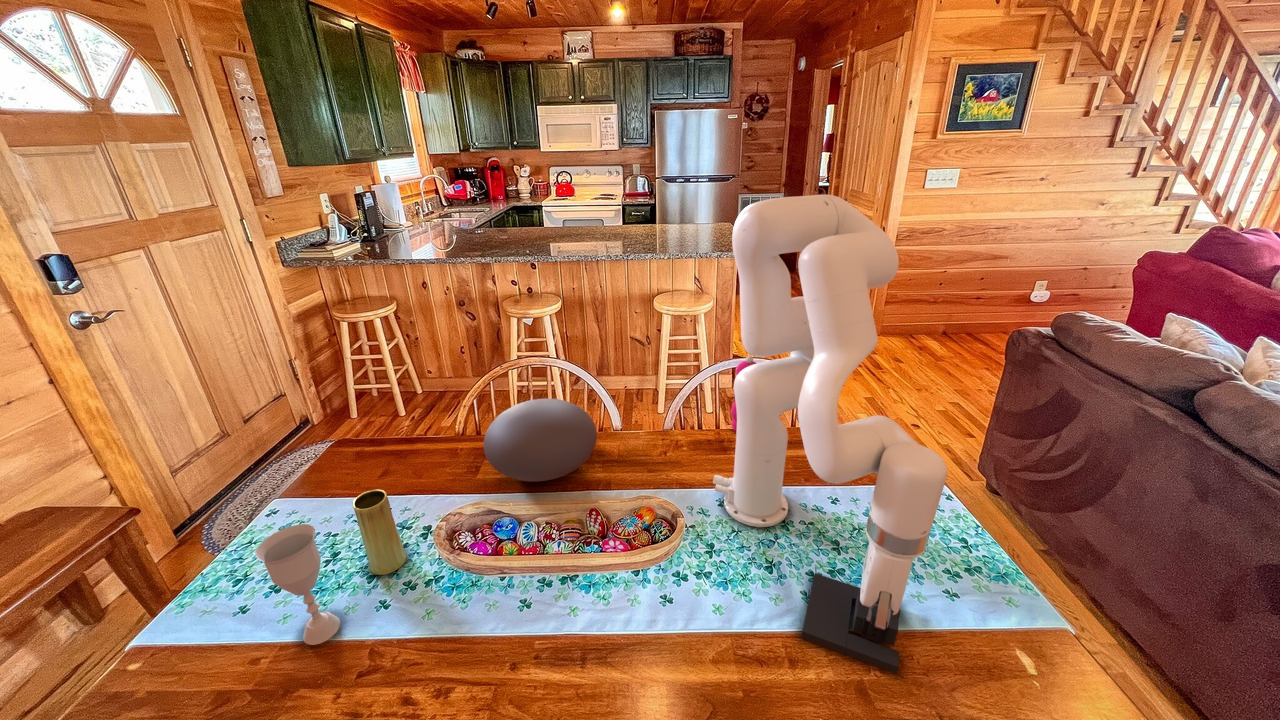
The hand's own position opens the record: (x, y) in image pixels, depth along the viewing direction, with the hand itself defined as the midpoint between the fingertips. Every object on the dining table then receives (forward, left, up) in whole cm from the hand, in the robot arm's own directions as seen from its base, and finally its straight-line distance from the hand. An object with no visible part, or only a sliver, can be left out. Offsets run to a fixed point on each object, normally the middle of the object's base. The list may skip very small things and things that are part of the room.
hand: (873, 620), depth 77 cm
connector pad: (0, 0, 0) cm, 1 cm away
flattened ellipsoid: (-70, +13, -2) cm, 72 cm away
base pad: (-3, 0, -2) cm, 3 cm away
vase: (-79, -22, -2) cm, 82 cm away
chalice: (-77, -36, -2) cm, 85 cm away
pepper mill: (-33, +48, -2) cm, 58 cm away
